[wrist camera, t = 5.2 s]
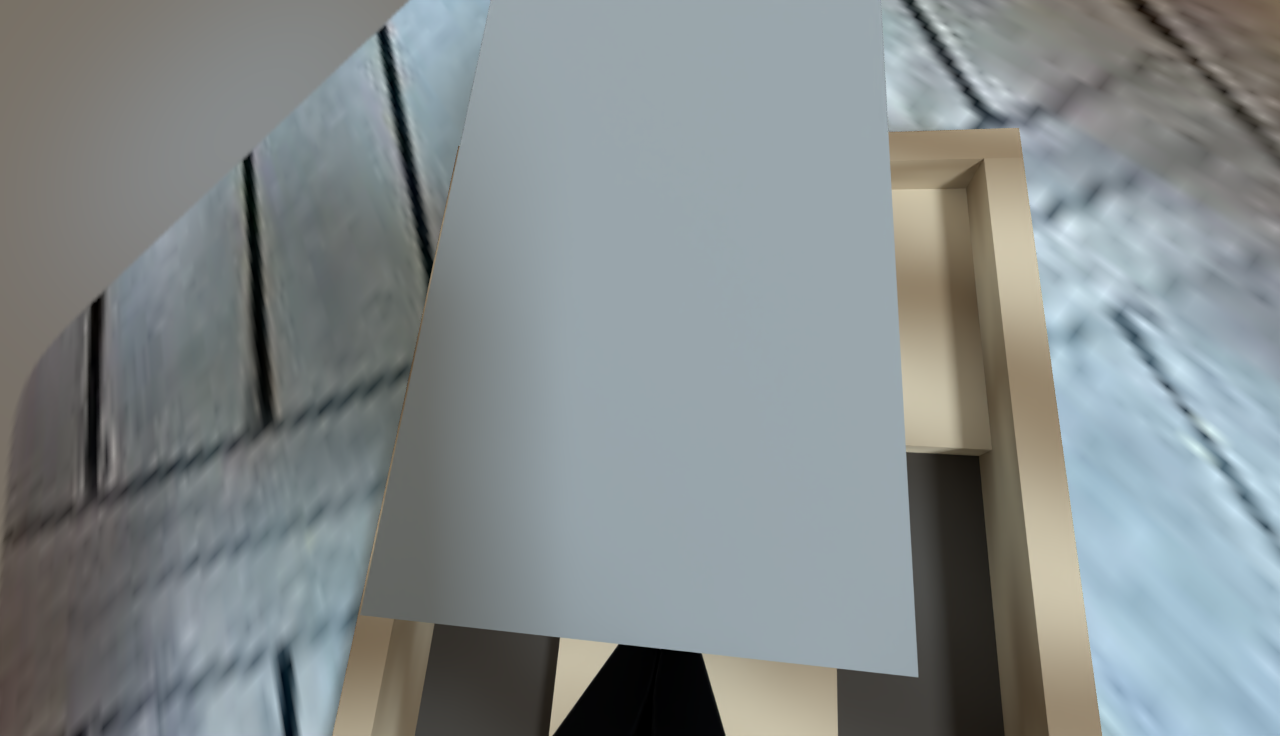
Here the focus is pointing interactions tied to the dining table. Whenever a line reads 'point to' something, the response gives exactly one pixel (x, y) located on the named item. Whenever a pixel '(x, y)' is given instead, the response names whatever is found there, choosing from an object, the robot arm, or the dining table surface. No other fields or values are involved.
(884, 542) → the block
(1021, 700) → the box
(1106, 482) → the dining table surface
